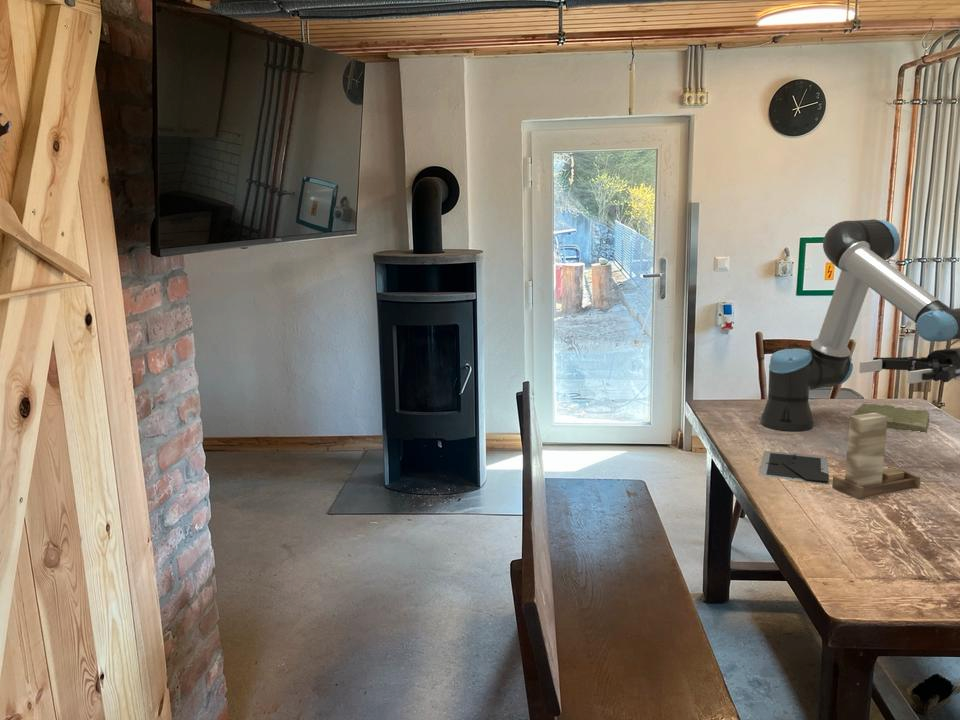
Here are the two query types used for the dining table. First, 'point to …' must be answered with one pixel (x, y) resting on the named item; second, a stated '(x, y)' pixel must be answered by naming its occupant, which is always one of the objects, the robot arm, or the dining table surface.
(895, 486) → the tray
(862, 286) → the robot arm
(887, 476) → the oak offcut
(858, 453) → the tall grained pillar
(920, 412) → the decorative tile
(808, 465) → the picture frame
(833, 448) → the dining table surface
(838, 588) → the dining table surface
